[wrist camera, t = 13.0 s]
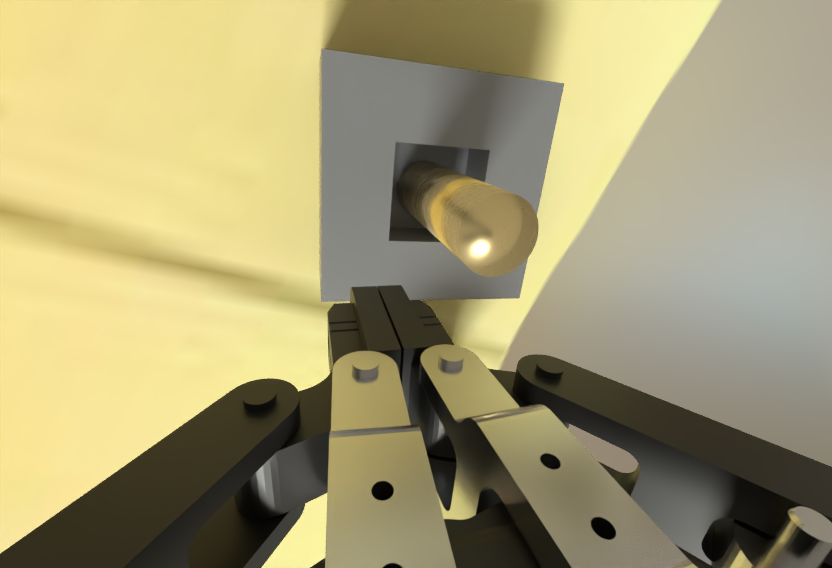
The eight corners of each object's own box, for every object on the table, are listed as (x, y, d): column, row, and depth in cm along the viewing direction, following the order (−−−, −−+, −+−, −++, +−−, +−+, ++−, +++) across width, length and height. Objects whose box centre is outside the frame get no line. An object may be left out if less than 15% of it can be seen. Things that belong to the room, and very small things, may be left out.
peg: (398, 159, 22) (463, 192, 13) (451, 162, 23) (546, 193, 14) (396, 215, 23) (454, 278, 15) (446, 215, 24) (529, 275, 15)
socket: (319, 63, 21) (321, 48, 17) (517, 89, 24) (564, 83, 20) (319, 269, 26) (321, 301, 21) (487, 270, 29) (519, 298, 24)
